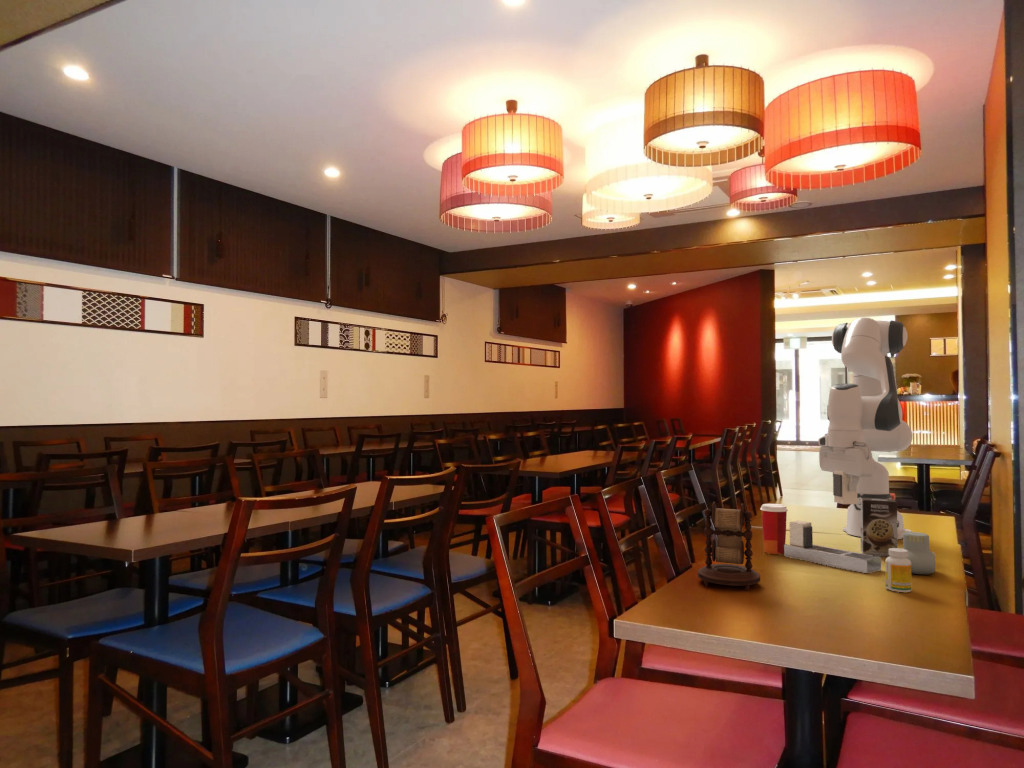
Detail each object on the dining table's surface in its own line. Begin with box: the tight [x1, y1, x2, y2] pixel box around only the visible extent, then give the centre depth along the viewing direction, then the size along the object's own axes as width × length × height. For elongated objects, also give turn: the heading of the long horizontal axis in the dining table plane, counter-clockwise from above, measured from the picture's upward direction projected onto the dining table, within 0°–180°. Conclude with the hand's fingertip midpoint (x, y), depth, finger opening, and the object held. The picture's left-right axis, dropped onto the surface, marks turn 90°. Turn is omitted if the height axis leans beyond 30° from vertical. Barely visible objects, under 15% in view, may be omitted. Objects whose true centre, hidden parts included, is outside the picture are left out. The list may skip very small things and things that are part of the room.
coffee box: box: [860, 498, 898, 558], centre depth 197 cm, size 9×6×16 cm
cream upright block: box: [832, 470, 857, 505], centre depth 189 cm, size 5×4×9 cm
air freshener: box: [901, 531, 937, 575], centre depth 177 cm, size 11×8×10 cm
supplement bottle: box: [884, 547, 912, 593], centre depth 160 cm, size 5×5×10 cm
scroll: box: [697, 501, 761, 591], centre depth 167 cm, size 15×15×20 cm
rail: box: [783, 520, 882, 574], centre depth 186 cm, size 7×24×10 cm, turn 34°
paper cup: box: [759, 503, 789, 555], centre depth 200 cm, size 8×8×14 cm
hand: (845, 490), depth 189 cm, fingers closed on cream upright block, 4 cm apart
